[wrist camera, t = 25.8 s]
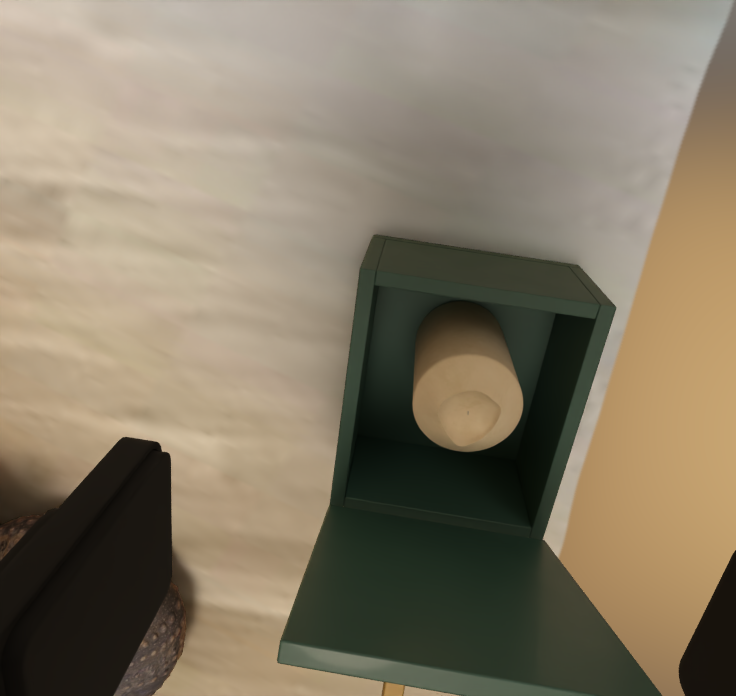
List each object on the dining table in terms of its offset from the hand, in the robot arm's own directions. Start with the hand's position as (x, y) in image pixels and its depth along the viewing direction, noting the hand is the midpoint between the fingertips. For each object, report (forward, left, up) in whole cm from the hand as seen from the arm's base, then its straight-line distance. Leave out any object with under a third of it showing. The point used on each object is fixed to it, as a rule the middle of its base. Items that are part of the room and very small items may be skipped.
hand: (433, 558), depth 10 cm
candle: (+3, +7, -27) cm, 28 cm away
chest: (+4, +8, -28) cm, 29 cm away
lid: (+7, +11, -13) cm, 18 cm away
